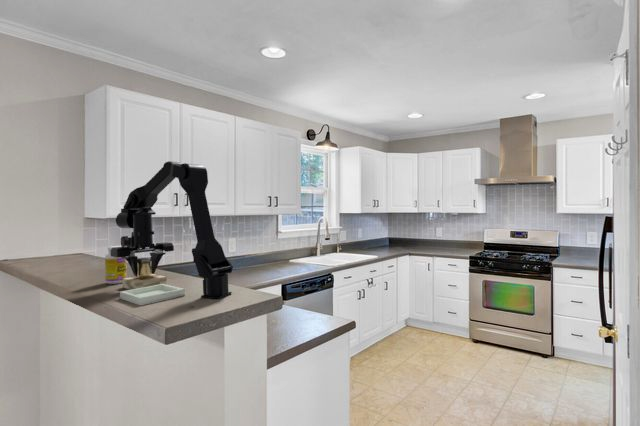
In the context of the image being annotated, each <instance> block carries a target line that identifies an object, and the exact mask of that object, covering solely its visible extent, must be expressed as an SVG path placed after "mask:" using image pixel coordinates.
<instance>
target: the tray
mask: <svg viewBox="0 0 640 426" xmlns="http://www.w3.org/2000/svg"><path fill="white" fill-rule="evenodd" d="M185 294H186V293H185V288H182V287H178V286H173V285H170V284H167V285H166V284H159V285H154V286H148V287H143V288H137V289H132V290H130V289H127V290H122V291H119V299H121V300H123V301H126V302H129V303H132V304H134V305H139V306H144V305H150V304H154V303H159V302H161V301H167V300H172V299H176V298H180V297H185V296H186V295H185Z"/></svg>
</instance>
